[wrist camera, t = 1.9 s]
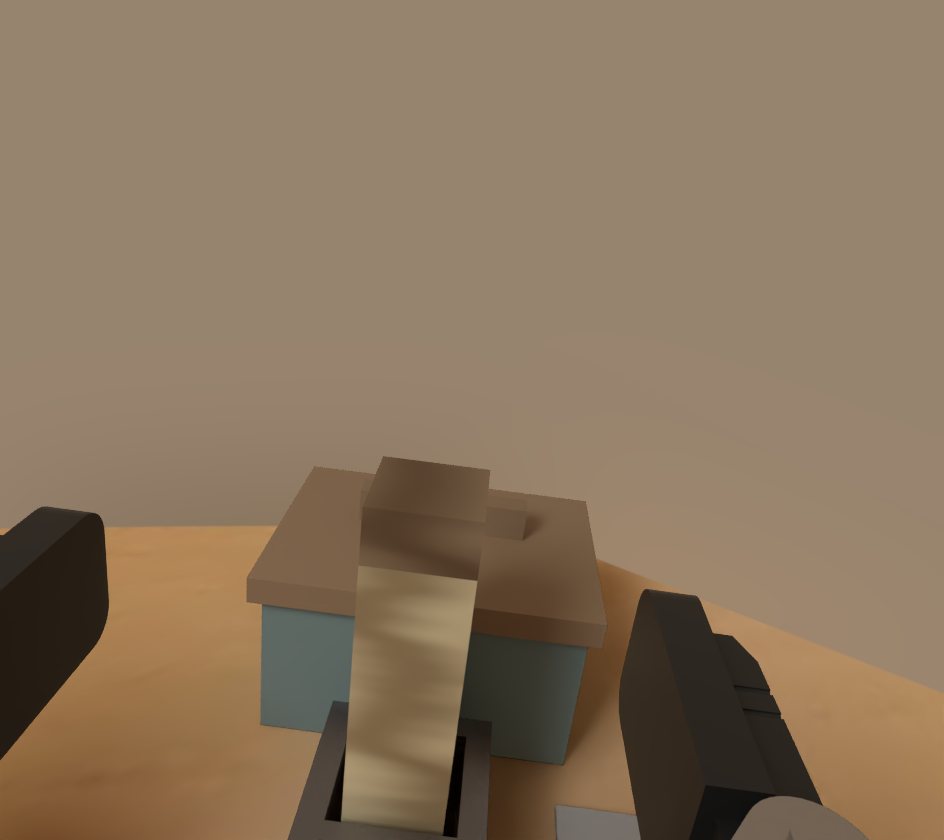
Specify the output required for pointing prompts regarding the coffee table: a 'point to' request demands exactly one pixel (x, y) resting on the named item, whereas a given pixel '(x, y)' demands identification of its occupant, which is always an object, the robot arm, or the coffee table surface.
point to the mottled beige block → (411, 641)
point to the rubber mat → (594, 824)
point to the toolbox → (493, 623)
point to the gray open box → (324, 836)
